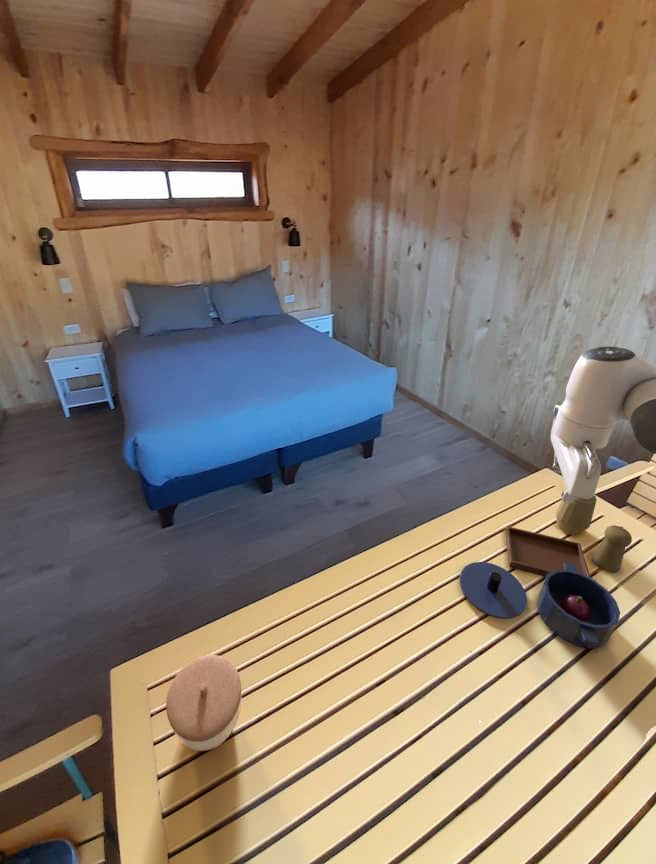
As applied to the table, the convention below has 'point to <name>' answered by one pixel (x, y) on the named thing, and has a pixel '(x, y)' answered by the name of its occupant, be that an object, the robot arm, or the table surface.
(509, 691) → the table surface
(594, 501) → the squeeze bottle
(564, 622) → the pot
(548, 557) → the tray
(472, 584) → the lid
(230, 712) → the lidded bowl
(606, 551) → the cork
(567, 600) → the beet
